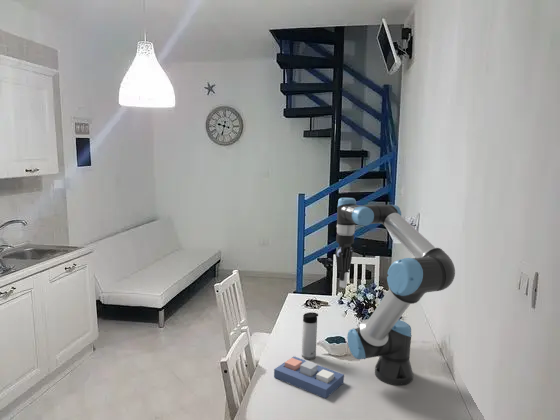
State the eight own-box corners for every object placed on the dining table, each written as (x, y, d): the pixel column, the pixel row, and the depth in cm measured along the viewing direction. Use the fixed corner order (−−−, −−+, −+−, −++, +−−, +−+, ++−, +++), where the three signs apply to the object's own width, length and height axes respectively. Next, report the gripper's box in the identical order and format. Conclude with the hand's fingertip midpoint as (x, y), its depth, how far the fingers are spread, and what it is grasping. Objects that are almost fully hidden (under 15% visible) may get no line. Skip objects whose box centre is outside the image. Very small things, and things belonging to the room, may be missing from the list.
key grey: (317, 372, 171) (317, 364, 171) (310, 377, 167) (311, 369, 167) (306, 368, 174) (307, 360, 174) (300, 373, 170) (300, 365, 170)
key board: (343, 382, 170) (343, 374, 169) (325, 398, 159) (326, 389, 158) (293, 364, 184) (293, 356, 183) (274, 377, 173) (274, 369, 172)
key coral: (301, 369, 176) (301, 361, 175) (294, 374, 172) (295, 366, 171) (291, 365, 179) (291, 357, 178) (284, 370, 175) (284, 362, 174)
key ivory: (333, 381, 167) (334, 373, 167) (327, 387, 163) (327, 378, 163) (322, 377, 170) (323, 369, 170) (316, 382, 166) (316, 374, 166)
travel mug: (315, 360, 187) (317, 316, 185) (300, 358, 188) (302, 315, 186) (317, 354, 193) (319, 311, 191) (302, 352, 195) (304, 310, 192)
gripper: (344, 230, 191) (342, 282, 194) (330, 234, 180) (327, 288, 183) (360, 232, 186) (357, 285, 190) (346, 237, 176) (343, 292, 179)
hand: (342, 287), depth 187 cm, fingers closed
